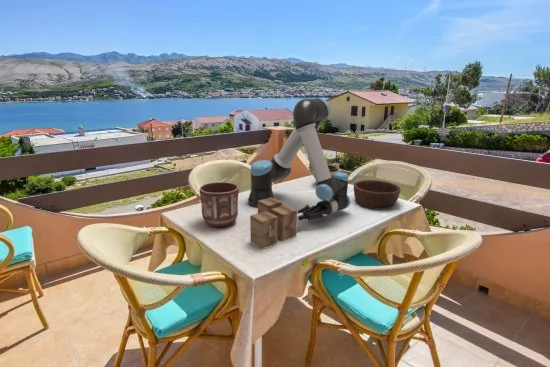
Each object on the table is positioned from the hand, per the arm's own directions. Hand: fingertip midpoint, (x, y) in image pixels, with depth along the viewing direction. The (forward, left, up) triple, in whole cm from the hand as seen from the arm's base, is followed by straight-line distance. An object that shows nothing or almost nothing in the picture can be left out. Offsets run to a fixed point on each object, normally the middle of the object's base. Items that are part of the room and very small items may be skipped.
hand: (292, 219), depth 141 cm
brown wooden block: (-3, -4, -6) cm, 8 cm away
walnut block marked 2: (-12, +5, -6) cm, 14 cm away
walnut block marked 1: (-9, -13, -6) cm, 17 cm away
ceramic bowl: (+8, +76, -6) cm, 76 cm away
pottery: (-35, +1, -6) cm, 35 cm away
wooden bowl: (+38, +50, -6) cm, 63 cm away
